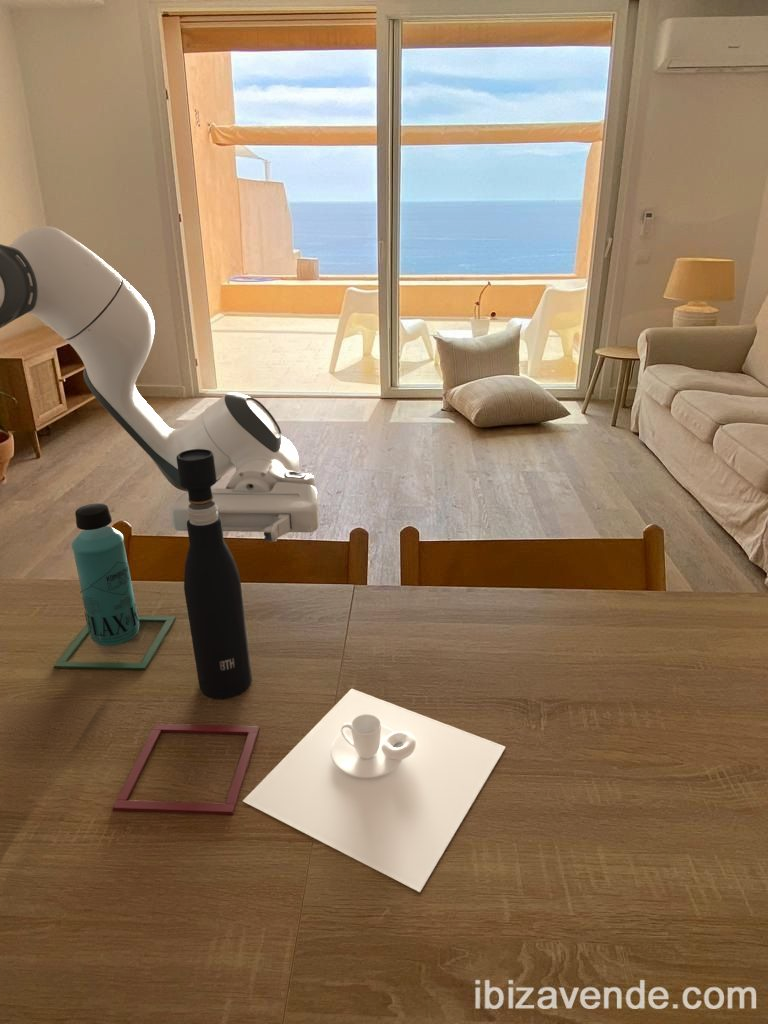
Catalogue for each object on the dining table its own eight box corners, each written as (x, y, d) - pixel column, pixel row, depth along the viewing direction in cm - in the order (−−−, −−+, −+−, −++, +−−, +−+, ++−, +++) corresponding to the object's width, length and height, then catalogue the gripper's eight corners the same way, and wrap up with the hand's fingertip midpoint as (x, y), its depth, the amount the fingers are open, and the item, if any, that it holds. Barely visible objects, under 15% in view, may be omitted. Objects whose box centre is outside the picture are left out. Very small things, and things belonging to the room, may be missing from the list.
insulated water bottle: (224, 661, 90) (194, 441, 78) (262, 676, 87) (238, 450, 75) (188, 688, 85) (150, 458, 73) (227, 706, 82) (195, 469, 70)
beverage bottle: (82, 653, 92) (50, 516, 84) (111, 625, 98) (84, 495, 90) (125, 659, 91) (97, 521, 82) (152, 631, 97) (129, 499, 88)
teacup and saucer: (424, 745, 76) (424, 716, 74) (387, 795, 69) (386, 764, 68) (356, 718, 80) (355, 690, 78) (315, 763, 74) (313, 733, 72)
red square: (112, 810, 68) (112, 807, 68) (155, 726, 79) (155, 723, 79) (232, 814, 68) (232, 811, 67) (259, 728, 79) (259, 726, 78)
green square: (54, 668, 89) (53, 665, 89) (94, 617, 100) (94, 614, 100) (145, 670, 89) (144, 668, 88) (176, 618, 99) (175, 616, 99)
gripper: (184, 473, 101) (150, 513, 88) (324, 474, 100) (309, 514, 87) (190, 513, 104) (157, 556, 91) (326, 514, 102) (312, 559, 90)
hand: (233, 536), depth 89 cm, fingers open, 8 cm apart
